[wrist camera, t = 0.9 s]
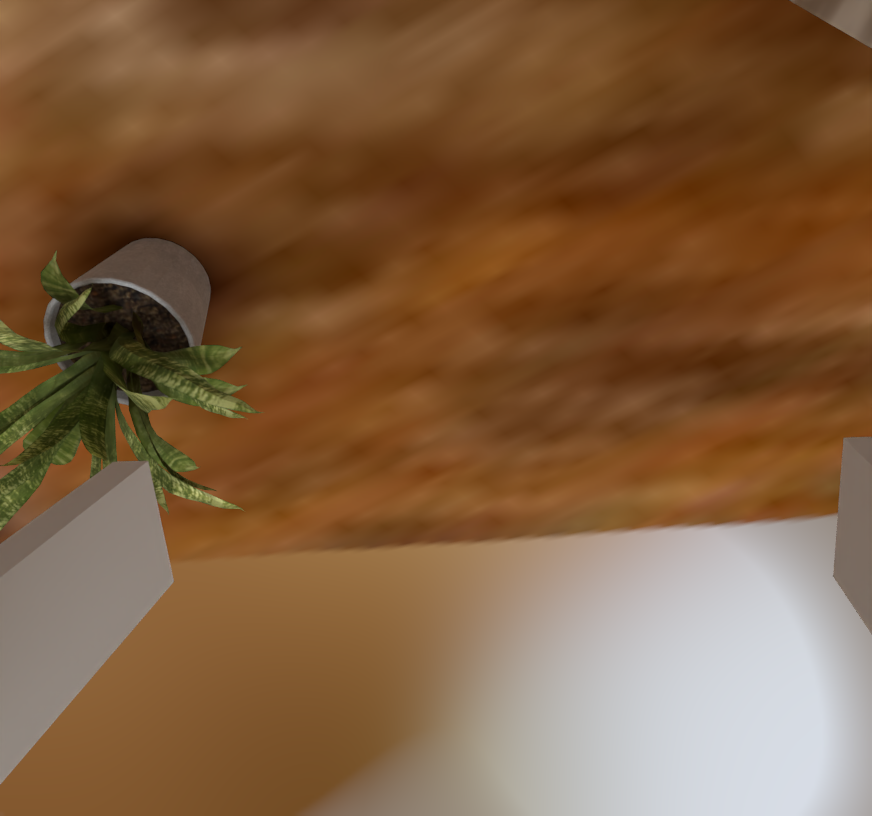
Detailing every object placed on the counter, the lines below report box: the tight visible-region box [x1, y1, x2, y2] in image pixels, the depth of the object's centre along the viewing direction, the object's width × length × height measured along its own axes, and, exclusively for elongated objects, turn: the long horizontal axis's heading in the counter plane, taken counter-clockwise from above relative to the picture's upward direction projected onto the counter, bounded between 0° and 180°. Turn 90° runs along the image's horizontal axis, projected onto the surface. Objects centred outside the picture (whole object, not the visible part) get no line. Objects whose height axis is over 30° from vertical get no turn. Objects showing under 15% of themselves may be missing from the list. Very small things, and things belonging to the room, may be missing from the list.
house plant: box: [0, 238, 264, 530], centre depth 36 cm, size 14×14×16 cm
